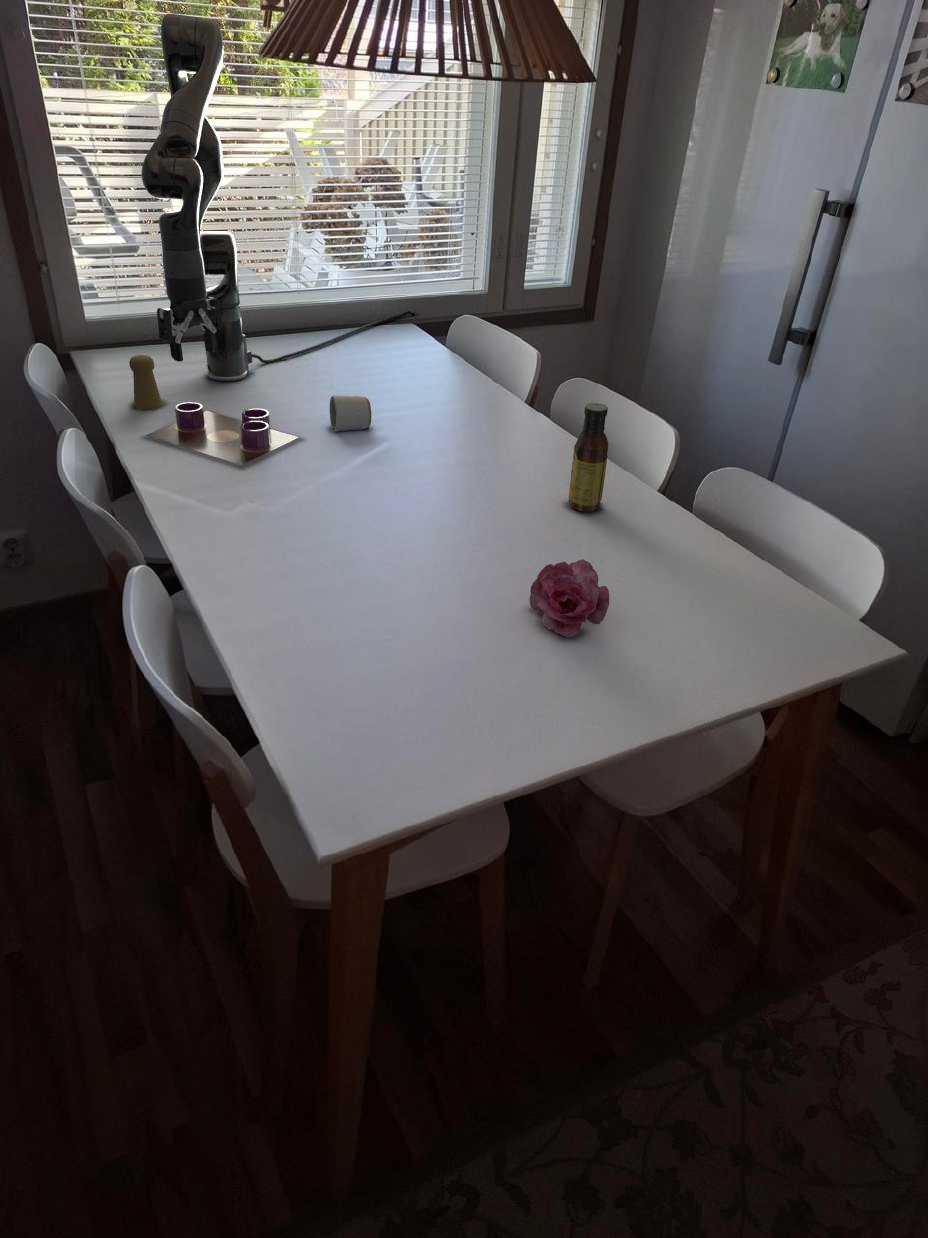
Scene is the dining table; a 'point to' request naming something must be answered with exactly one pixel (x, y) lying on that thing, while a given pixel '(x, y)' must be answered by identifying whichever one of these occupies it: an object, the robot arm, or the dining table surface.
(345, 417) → the ceramic mug
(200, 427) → the plum dish
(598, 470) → the sauce bottle
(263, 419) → the plum dish
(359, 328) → the robot arm
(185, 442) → the metal board
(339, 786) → the dining table surface
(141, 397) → the yellow pawn figure
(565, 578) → the flower
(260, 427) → the plum dish
